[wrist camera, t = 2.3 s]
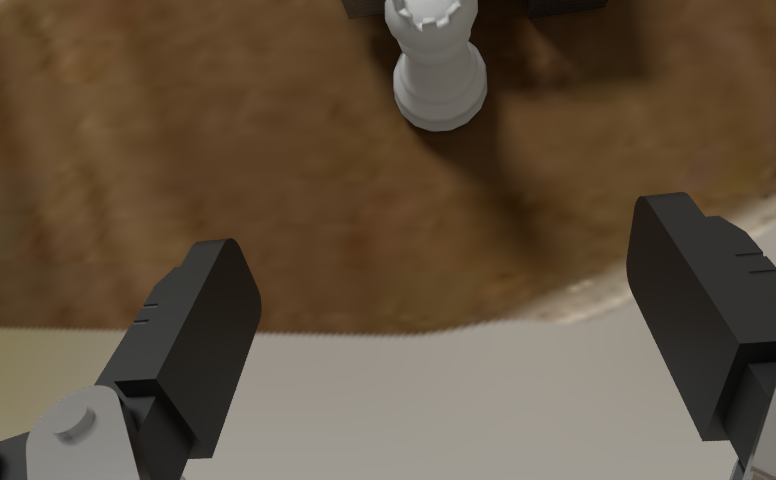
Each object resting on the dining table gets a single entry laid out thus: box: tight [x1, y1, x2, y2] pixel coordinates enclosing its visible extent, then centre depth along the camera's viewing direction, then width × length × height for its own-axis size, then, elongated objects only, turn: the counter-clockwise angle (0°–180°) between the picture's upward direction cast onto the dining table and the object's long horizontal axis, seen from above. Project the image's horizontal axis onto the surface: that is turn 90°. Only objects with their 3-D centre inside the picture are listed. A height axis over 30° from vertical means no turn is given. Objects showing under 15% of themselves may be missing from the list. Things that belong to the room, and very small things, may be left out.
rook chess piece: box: [385, 0, 487, 131], centre depth 21 cm, size 4×4×8 cm
